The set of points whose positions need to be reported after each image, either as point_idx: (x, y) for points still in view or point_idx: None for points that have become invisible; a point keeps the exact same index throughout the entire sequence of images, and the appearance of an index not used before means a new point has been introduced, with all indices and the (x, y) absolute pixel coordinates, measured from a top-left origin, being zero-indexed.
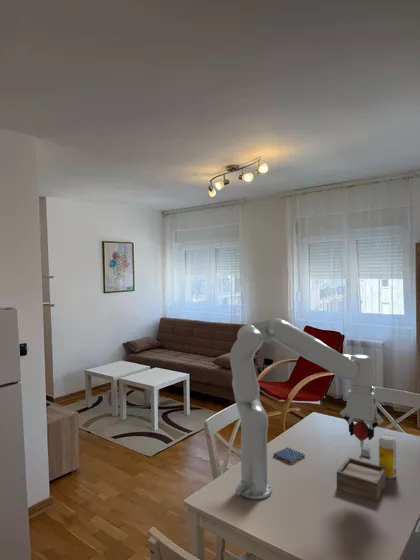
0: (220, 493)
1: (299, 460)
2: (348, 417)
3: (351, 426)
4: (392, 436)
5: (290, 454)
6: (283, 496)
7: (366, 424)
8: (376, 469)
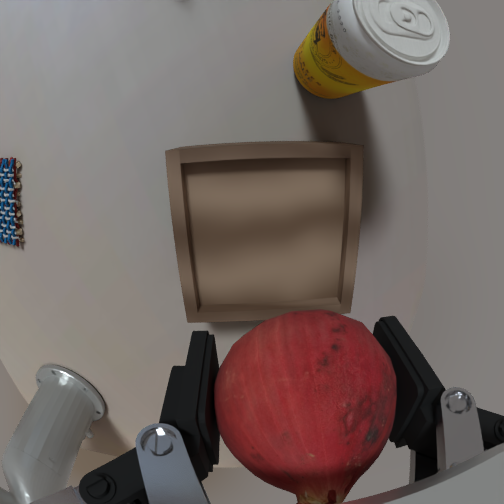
0: None
1: (19, 193)
2: (129, 494)
3: (212, 459)
4: None
5: None
6: (120, 388)
7: (384, 434)
8: (318, 160)
